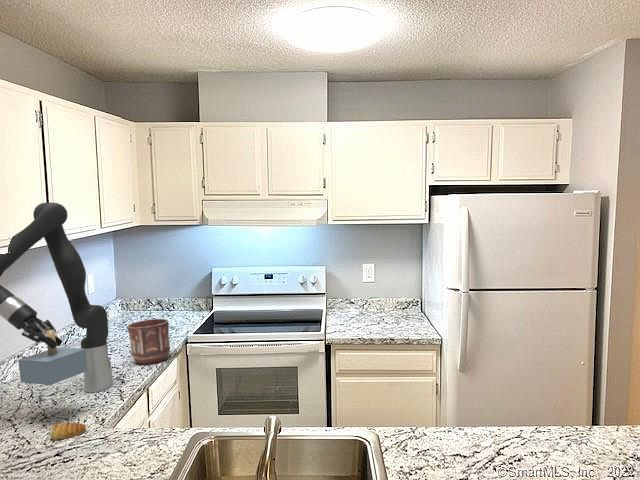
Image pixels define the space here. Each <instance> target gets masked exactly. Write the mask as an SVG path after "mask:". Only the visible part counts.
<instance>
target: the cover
mask: <svg viewBox="0 0 640 480" xmlns="http://www.w3.org/2000/svg"><path fill="white" fill-rule="evenodd" d="M55 330H56V329H55ZM55 330H48V331H46V334H47V335H48V336H49V337H50V338H52V339H53V340H54V341H55V342H56V338H55V335H56V332H55ZM46 347H47V350H44V351H41V352H37V353H36V354H32V355H31V354H30V355H29V356H26V357H22V358H19V359H17V361H18V370H19V371H18V372H19V378H20V383H23V384H32V385H41V386H53V385H55V384H58V383H60V382H62V381H65V380H67V379H70V378H73V377H75V376H78V375H80V374H84V372H86V371H88V369H87V359H86V349H81V348H74V347H60V346H56V347H55V348H54V349H52V348H51V347H49V346H48V345H47V344H46Z"/></svg>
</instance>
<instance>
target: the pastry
mask: <svg viewBox="0 0 640 480" xmlns="http://www.w3.org/2000/svg"><path fill="white" fill-rule="evenodd" d="M86 429H87V425H86V424H84V423H79V422H69V421H67V422H61V423H60V424H59V423H58V424H53V425H52V426H51V430H50V435H49V438H50V439H51V440H53V441H58V440H66V439H71V438H75V437H77V436H79V435H82V434H84V433H85V432H86Z"/></svg>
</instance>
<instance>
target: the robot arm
mask: <svg viewBox="0 0 640 480" xmlns="http://www.w3.org/2000/svg"><path fill="white" fill-rule="evenodd" d="M32 213H33V215H32V216H33V220H32V222H31V223H29V224H28V225H27V226H25V228H23V229H22V230H21V231H19V232H17V233H16V234H14V235H13V236H12V239H11V241H10V244H9V247H8V253H6V254H0V278H1V277H2V276H3V274H4V272H5V271H7V269H9V268H10V267H12V265H13V264H15V262H16V261H18V260H19V259H20V258H21V257H22V256H23V255H25V253H27V252H28V251H29V250H30V249H31V248H32V247H33V246H34V245H35V244H37V243H39V241H41V240H42V239H43V238H44V241H45V243H46V245H47V249H48V251H49V254H50V257H51V259H52V263H53V264H54V267H55V271H56V274H57V276H58V278H59V280H60V282H61V285H62V287H63V290H64V293H65V296H66V298H67V301H68V304H69V307H70V310H71V316H72V318H73V322H74V323H75V325H76V326H77V327H78V328H79V329H80V328H81V329H86V336H85V337H84V338H82V339H81V340H80V349H86V359H87V369H88V371H86V372H83V377H84V378H83V379H84V389H85V392H86V393H99V392H103V391H105V390H107V389H110V388H111V387H112V386H113V385H114V380H113V370H112V369H113V368H112V361H111V360H110V359H109V351H108V337H109V317H108V313H107V310H106V309H105V308H104V306H103V305H99V304H90V301H89V298H88V297H87V294H86V290H85V288H86V279H87V272H86V268H85V266H84V265H85V264H84V262H83V260H82V258H81V255H80V254H79V252H78V251H77V249H76V248H75V246H74V245H73V244H72V242H71V241H70V239H69V238H68V236H67V235H66V232H65V229H64V227H63V225H64V224H65V223H66V221H67V220H68V217H69V216H68V215H69V214H68V211H67V208H66V207H65V206H64V205H63V204H61V203H57V202H42V203H39V204H38V205H36V207H34V209H33V212H32ZM9 252H10V253H9ZM37 315H38V312H37V311H36V310H35V309H34V308H32V307H31V306H30V305H29V304H27V303H26V302H25V301H23V299H21V298H19V296H18V297H17V296H16V295H15V294H14V293H12V292H11V291H10V290H9V289H7V288H5V287H4V286H3V285H1V284H0V316H1V317H2V318H3V319H4V320H5V321H7V323H9V324H10V325H11V326H13V327H14V328H15V329H17V330H23V331H22V333H21V336H22V337H24V338H27V339H29V340H31V341H34V342H35V343H45V344H46V346H47V345H48V346H49V347H51V348H52V349H54V348H55V347H60V346H61V345H62V343H63V340H62V339H61V338H60V337H58V336H57V334H55V338H56V342H55V341H54V340H53V339H52V338H50V337H49V336H48V335H47V334H46V331H48V330H55V333H56V332H57V330H56V327H54V325H53V324H52V323H51V322H50V320H49V319H46V320H45V321H43V320H42V319H40V318H39V317H37ZM109 360H110V361H109Z"/></svg>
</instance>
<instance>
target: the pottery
mask: <svg viewBox="0 0 640 480" xmlns="http://www.w3.org/2000/svg"><path fill="white" fill-rule="evenodd" d="M126 327H127V332H128V336H129V342H130V351H131V356H132V358H133V359H134V362H136V363H138V364H139V363H140V364H139V365H141V364H150V365H155V364H159V363H161V362H164V361H165V360H166V358H167V357H168V356H169V353H170V350H171V349H170V347H171V346H170V337H169V336H170V334H169V331H170V330H169V329H170V328H169V327H170V326H169V320H167V319H166V318H165V319H164V318H155V319H154V318H153V319H152V318H151V319H146V320H145V319H144V320H140V321H136V322H133V323H131V324H129V325H127V326H126Z"/></svg>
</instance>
